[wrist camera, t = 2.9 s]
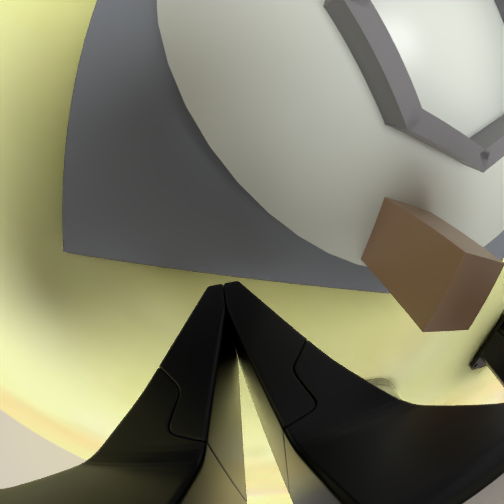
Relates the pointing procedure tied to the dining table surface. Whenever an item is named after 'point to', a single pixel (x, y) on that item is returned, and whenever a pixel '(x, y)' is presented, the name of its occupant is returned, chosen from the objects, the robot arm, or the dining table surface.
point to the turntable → (360, 130)
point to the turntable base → (169, 173)
